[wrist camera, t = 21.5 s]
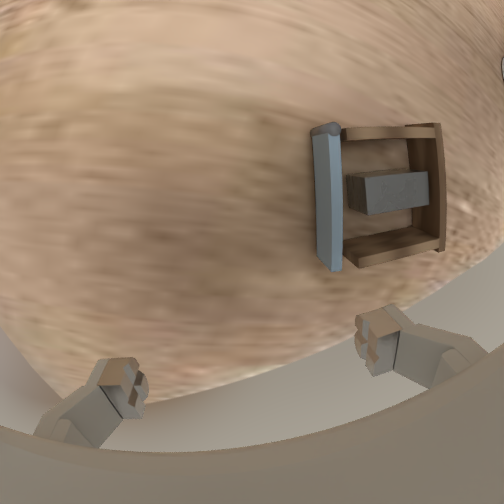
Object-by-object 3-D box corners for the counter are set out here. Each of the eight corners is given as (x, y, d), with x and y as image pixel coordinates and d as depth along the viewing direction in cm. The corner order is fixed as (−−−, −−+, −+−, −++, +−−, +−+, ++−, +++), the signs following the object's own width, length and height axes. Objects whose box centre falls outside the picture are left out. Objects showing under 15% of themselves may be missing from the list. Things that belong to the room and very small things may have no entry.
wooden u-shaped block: (411, 125, 29) (440, 123, 23) (418, 237, 34) (444, 250, 29) (323, 127, 29) (344, 122, 23) (338, 255, 34) (358, 273, 28)
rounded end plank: (321, 127, 28) (340, 122, 23) (326, 254, 33) (343, 271, 28) (309, 127, 28) (327, 121, 23) (315, 255, 33) (331, 273, 28)
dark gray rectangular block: (404, 168, 31) (427, 171, 26) (406, 197, 32) (429, 204, 28) (345, 174, 31) (364, 177, 26) (348, 207, 32) (367, 215, 27)
